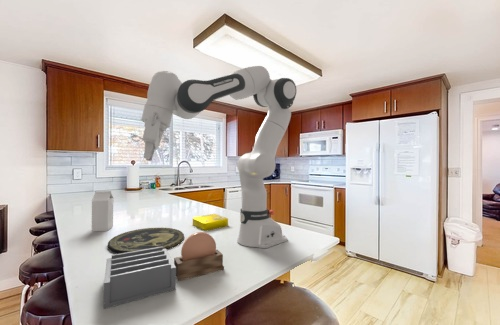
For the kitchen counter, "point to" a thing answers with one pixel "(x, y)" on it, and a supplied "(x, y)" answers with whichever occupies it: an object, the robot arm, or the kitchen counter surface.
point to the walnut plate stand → (198, 266)
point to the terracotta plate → (198, 246)
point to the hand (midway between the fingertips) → (147, 159)
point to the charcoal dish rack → (138, 276)
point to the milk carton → (102, 211)
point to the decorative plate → (145, 240)
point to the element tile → (210, 222)
